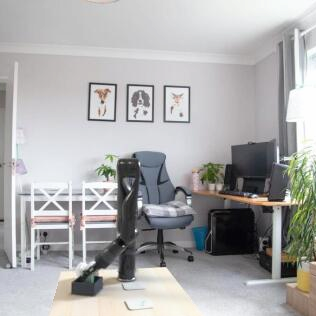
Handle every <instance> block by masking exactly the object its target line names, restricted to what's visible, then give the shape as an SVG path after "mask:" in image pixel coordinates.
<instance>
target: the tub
mask: <svg viewBox="0 0 316 316" xmlns="http://www.w3.org/2000/svg"><path fill="white" fill-rule="evenodd" d="M80 278H81V275H80V276H79V277H76V278H75V279H73V281H71V286H70V295H74V296H75V295H76V296H86V297H95V296H96V295H97V294H98V293H100V291H101V290H102V289H103V288H104V287H103V286H104V284H103V283H104V279H103V278H104V276H101V275H99V276H94V284H92V283H81V281H80V280H79V279H80Z"/></svg>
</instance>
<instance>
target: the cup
mask: <svg viewBox="0 0 316 316" xmlns="http://www.w3.org/2000/svg"><path fill="white" fill-rule="evenodd" d="M87 270H88V269H87ZM87 270H83V269H82V272H81V277H82V276H83V273H85V272H86V271H87ZM92 273H93V272H92ZM87 275H88V273H87ZM81 283H92V284H94V274H93V275H90V276H89V277H88V278H87V279H86V280H85V281H83V282H81Z"/></svg>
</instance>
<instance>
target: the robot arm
mask: <svg viewBox="0 0 316 316" xmlns="http://www.w3.org/2000/svg"><path fill="white" fill-rule="evenodd" d="M141 169H142V168H141V161H140V159H139V158H137V157H135V158H134V157H122V158H118V159H117V161H116V183H117V186H116V187H117V191H116V225H115V230H116V233H117V234H118V236H117V237H115V239H113V240H112V241H111V242H110V243H109V244H108V245H107V246H106V247H104V248H103V249H102V250H101V251H100V252H99V253H98V254H97V255H96V256H95V258H94V262H95V263H94V264H93V265H92V266H91V267H90V268H89V269H88V270H87V271H86V272H85V273H83V276H82V277H81V278H80V279H79V280H80V281H81V282H83V281H85V280H86V279H87V278H88V277H89V276H90V275H93V274H95V273H96V272H97V271H98V272H99V271H100V270H106V269H107V268H109V266H111V265H112V263H114V262H115V261H116V260H117V259H118V262H117V263H118V264H117V270H116V271H117V280H118V281H119V282H126V283H128V282H129V283H130V282H133V281H135V280H136V270H137V267H136V255H137V254H136V253H137V251H136V250H137V247H136V242H137V241H136V239H138V237H139V234H140V231H139V228H138V227H137V226H138V225H137V224H138V223H137V220H138V201H139V200H138V199H139V194H140V193H139V192H140V183H141V174H142V173H141V171H142V170H141ZM126 179H132V185H130V184H129V183H128V182H127V180H126ZM92 272H93V273H92ZM87 273H88V275H87Z"/></svg>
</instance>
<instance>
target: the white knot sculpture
mask: <svg viewBox="0 0 316 316" xmlns="http://www.w3.org/2000/svg"><path fill="white" fill-rule="evenodd" d="M94 263H96V261H95V260H94V261H93V260H92V261H90V262H89V263H88V264H87V262H84V261H81V262H79V263H78V264H77V266H76V268H75V274H76V278H78V277H79V276H80V275H81V272H82V270H87V269H89V268H90V267H91V266H92V265H93V264H94ZM94 276H100V273H99V271H97V272H96V273H95V274H94Z"/></svg>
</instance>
